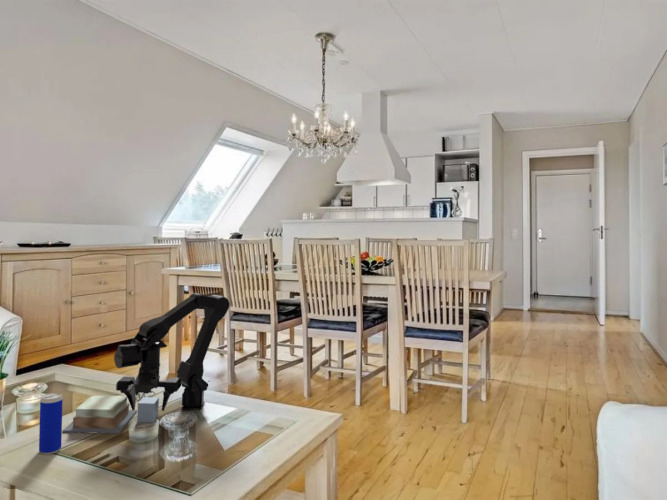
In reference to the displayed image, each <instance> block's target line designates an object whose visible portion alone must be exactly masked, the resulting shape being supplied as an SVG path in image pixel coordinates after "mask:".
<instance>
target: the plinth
mask: <svg viewBox="0 0 667 500" xmlns="http://www.w3.org/2000/svg"><path fill="white" fill-rule="evenodd" d="M129 410H130V402H129V403H128V398H127V396H126V395H125V396H123V395H120V396H119V395H91V396H90V397H88V398H87V399H86V400H85V401H84V402H82V403H81V404H80V405H78V407H76V408H75V416H73V417H72V422H73V428H115V427H116V426H117V425H118V424H119V423H120V422H121V421H122V420H123V418H124V417H125V416H126V415H127V414H128V413H129Z"/></svg>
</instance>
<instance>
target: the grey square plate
mask: <svg viewBox="0 0 667 500" xmlns="http://www.w3.org/2000/svg"><path fill="white" fill-rule="evenodd" d="M136 412H137V413H138V409H135V410H134V411H133V410H132V409H129V413H128V414H127V415H126V416H125V417H124V418H123V420H122V421H121V422H120V423H119V424H118V425H117V426H116V427H115V428H73V421H71V423H69V424H68V425H67V426H66V427H64V428H63V429H62V434H63V433H65V434H66V433H69V434H71V433H72V434H73V433H76V432H97V433H96V434H120V433H121V432H122V430H124V428H125V427H126V425H128V423H130V421H131V419H132V418H133V417H134V416H135V415H136V414H137V413H136ZM135 413H136V414H135ZM76 434H77V433H76Z"/></svg>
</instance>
